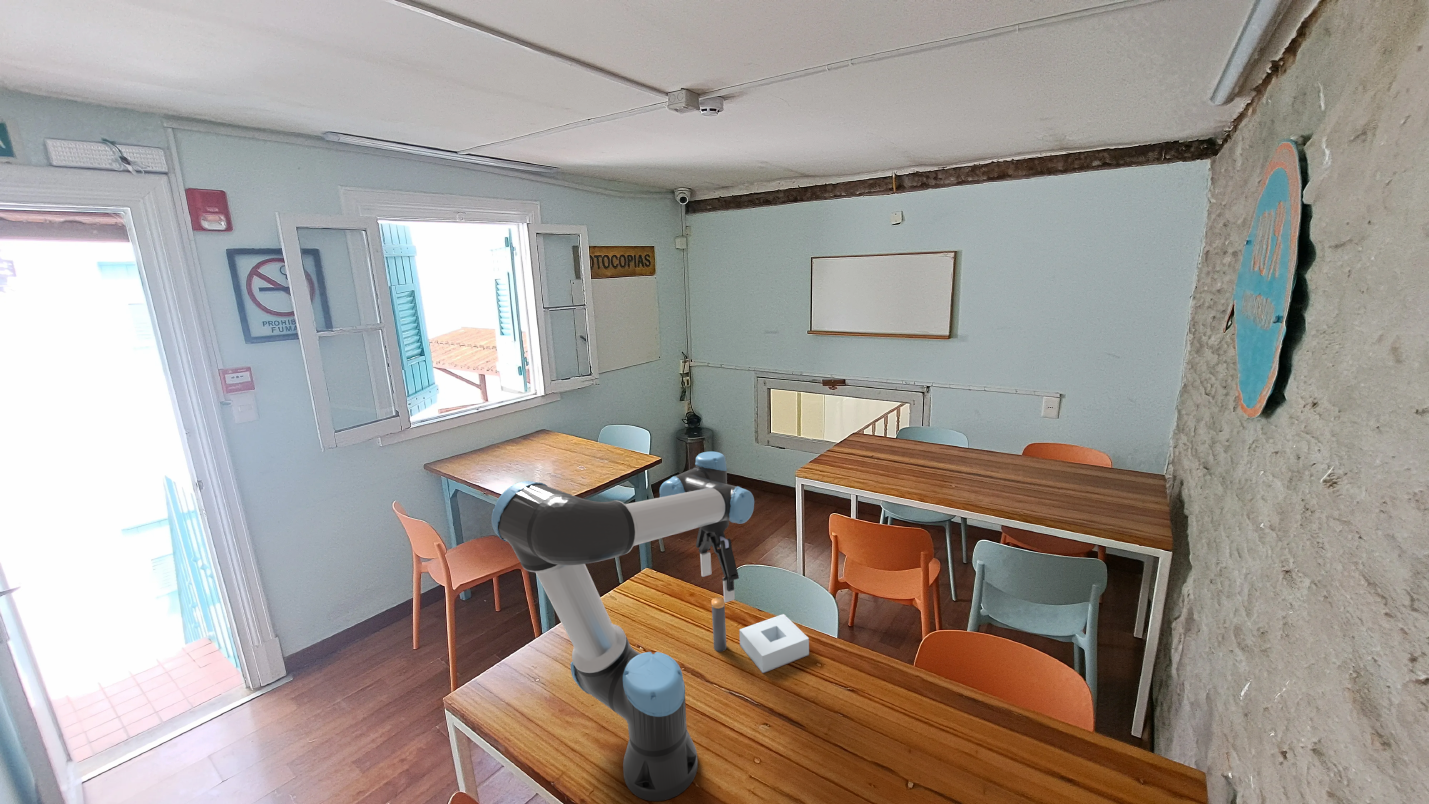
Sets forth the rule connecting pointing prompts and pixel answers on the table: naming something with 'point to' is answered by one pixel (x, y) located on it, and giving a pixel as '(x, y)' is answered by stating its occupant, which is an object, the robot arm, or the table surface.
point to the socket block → (774, 643)
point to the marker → (719, 624)
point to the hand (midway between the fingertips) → (717, 587)
